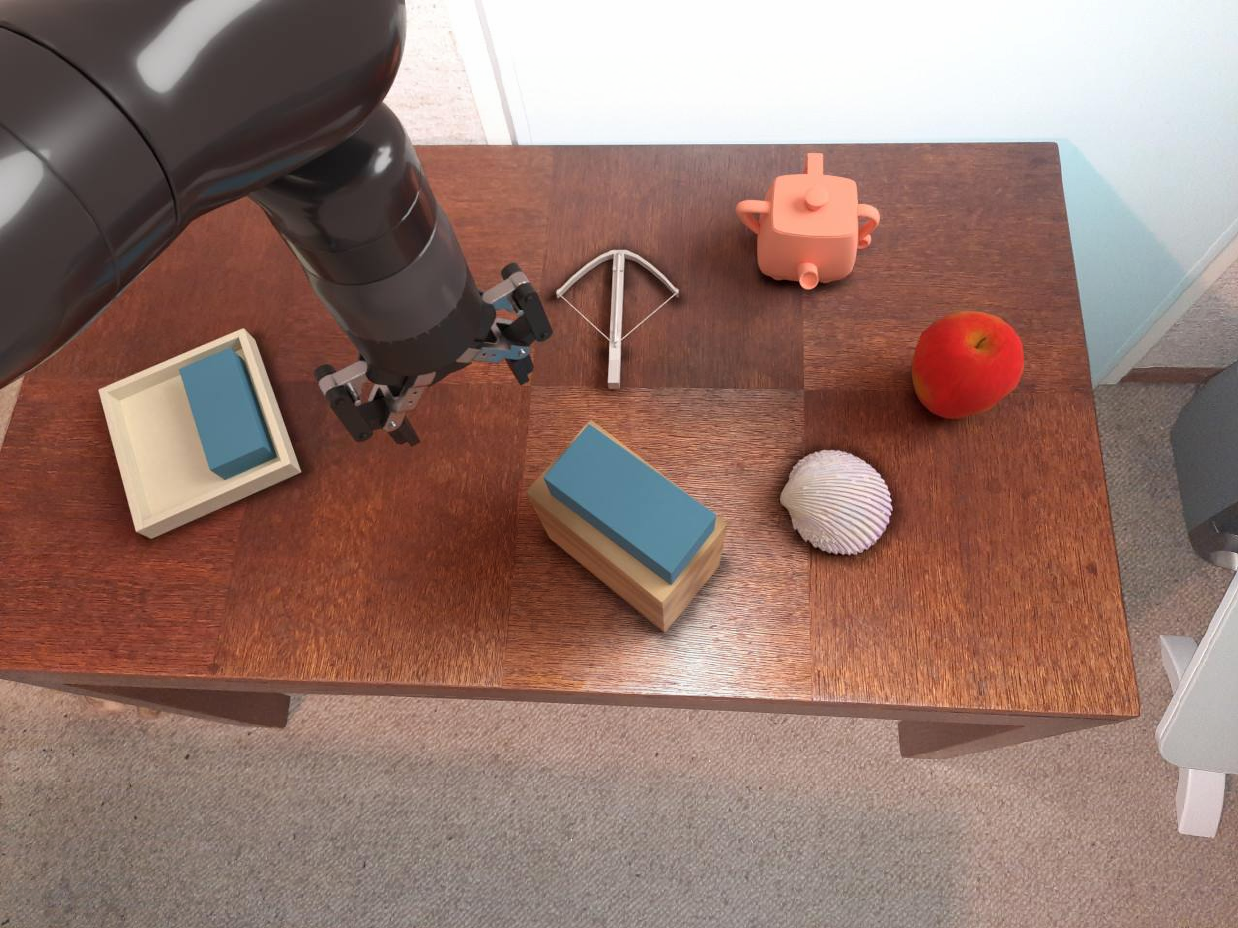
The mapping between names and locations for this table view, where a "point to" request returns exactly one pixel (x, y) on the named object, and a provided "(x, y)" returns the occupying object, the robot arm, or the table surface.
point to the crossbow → (616, 303)
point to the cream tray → (184, 441)
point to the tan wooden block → (625, 554)
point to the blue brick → (227, 414)
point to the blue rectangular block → (630, 503)
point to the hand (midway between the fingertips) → (465, 403)
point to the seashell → (837, 502)
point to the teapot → (809, 226)
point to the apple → (966, 364)
